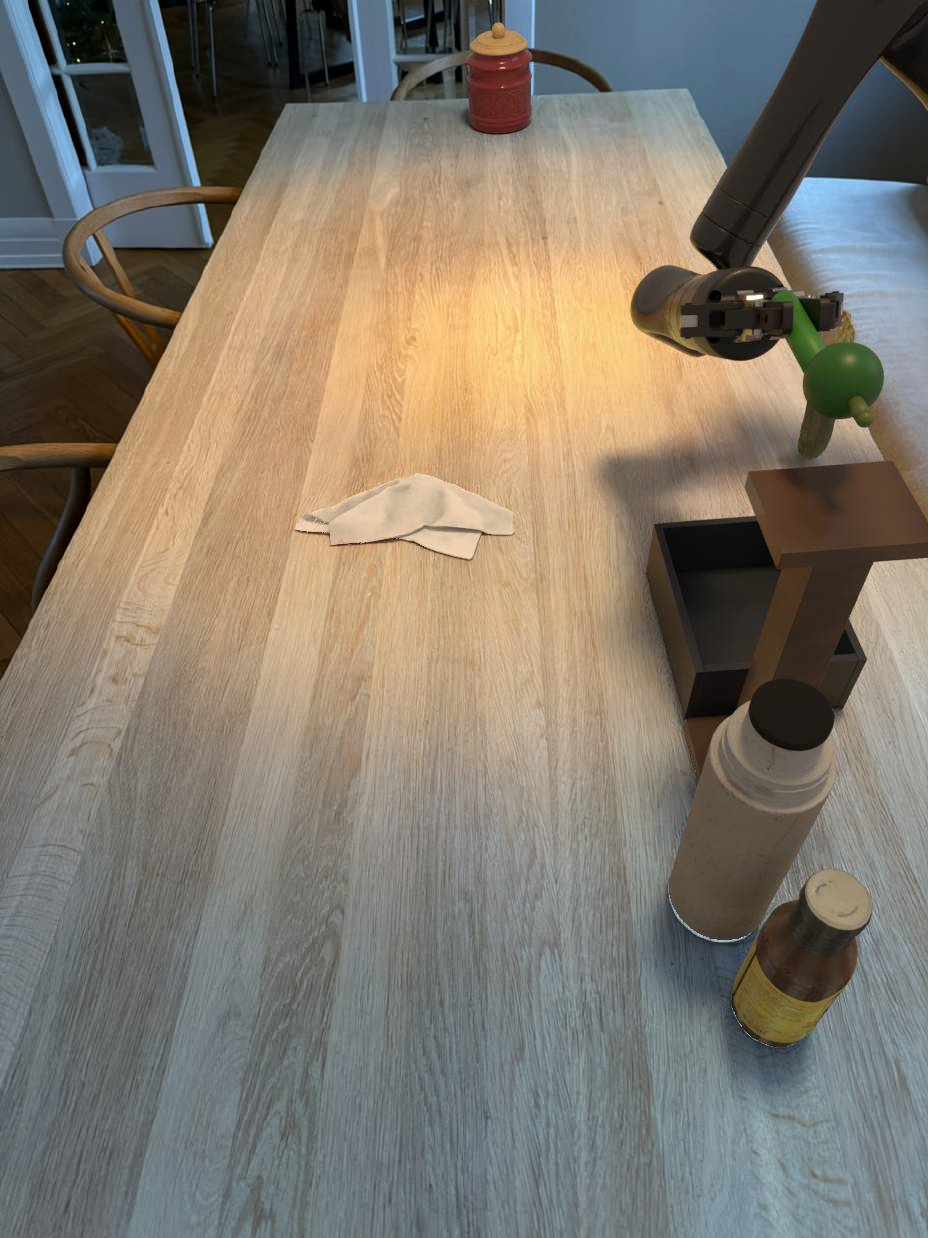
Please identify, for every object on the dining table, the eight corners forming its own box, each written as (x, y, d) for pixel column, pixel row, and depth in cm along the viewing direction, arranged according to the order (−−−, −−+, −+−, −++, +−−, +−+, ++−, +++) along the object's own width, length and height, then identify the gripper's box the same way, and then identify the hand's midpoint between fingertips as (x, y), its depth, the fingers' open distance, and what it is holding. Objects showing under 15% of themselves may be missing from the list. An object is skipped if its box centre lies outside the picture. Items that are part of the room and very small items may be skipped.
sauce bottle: (814, 1057, 66) (903, 965, 51) (729, 1044, 67) (790, 950, 52) (807, 970, 70) (886, 861, 55) (726, 959, 71) (782, 848, 56)
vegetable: (823, 475, 107) (873, 328, 92) (786, 472, 108) (830, 326, 93) (819, 451, 110) (867, 305, 95) (783, 449, 111) (825, 303, 96)
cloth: (525, 488, 109) (525, 474, 107) (504, 568, 100) (504, 554, 98) (325, 466, 113) (322, 452, 111) (289, 540, 105) (285, 526, 103)
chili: (809, 307, 66) (825, 245, 63) (894, 452, 55) (920, 387, 52) (745, 312, 66) (758, 251, 63) (818, 458, 55) (838, 394, 52)
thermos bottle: (700, 835, 78) (766, 635, 56) (782, 891, 74) (886, 700, 53) (648, 901, 74) (699, 714, 53) (732, 964, 70) (823, 791, 49)
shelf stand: (786, 718, 85) (892, 459, 61) (812, 792, 80) (939, 541, 56) (683, 726, 85) (748, 470, 61) (702, 800, 80) (782, 553, 56)
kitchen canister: (502, 104, 188) (501, 7, 174) (544, 120, 181) (546, 21, 168) (456, 122, 183) (450, 24, 169) (497, 140, 176) (495, 39, 162)
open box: (784, 563, 98) (801, 511, 92) (843, 708, 86) (867, 659, 80) (645, 574, 98) (653, 523, 92) (683, 720, 86) (695, 672, 80)
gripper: (651, 274, 76) (709, 266, 60) (810, 261, 76) (911, 250, 60) (651, 364, 79) (707, 380, 62) (805, 352, 79) (900, 364, 62)
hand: (806, 316), depth 61 cm, fingers closed on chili
